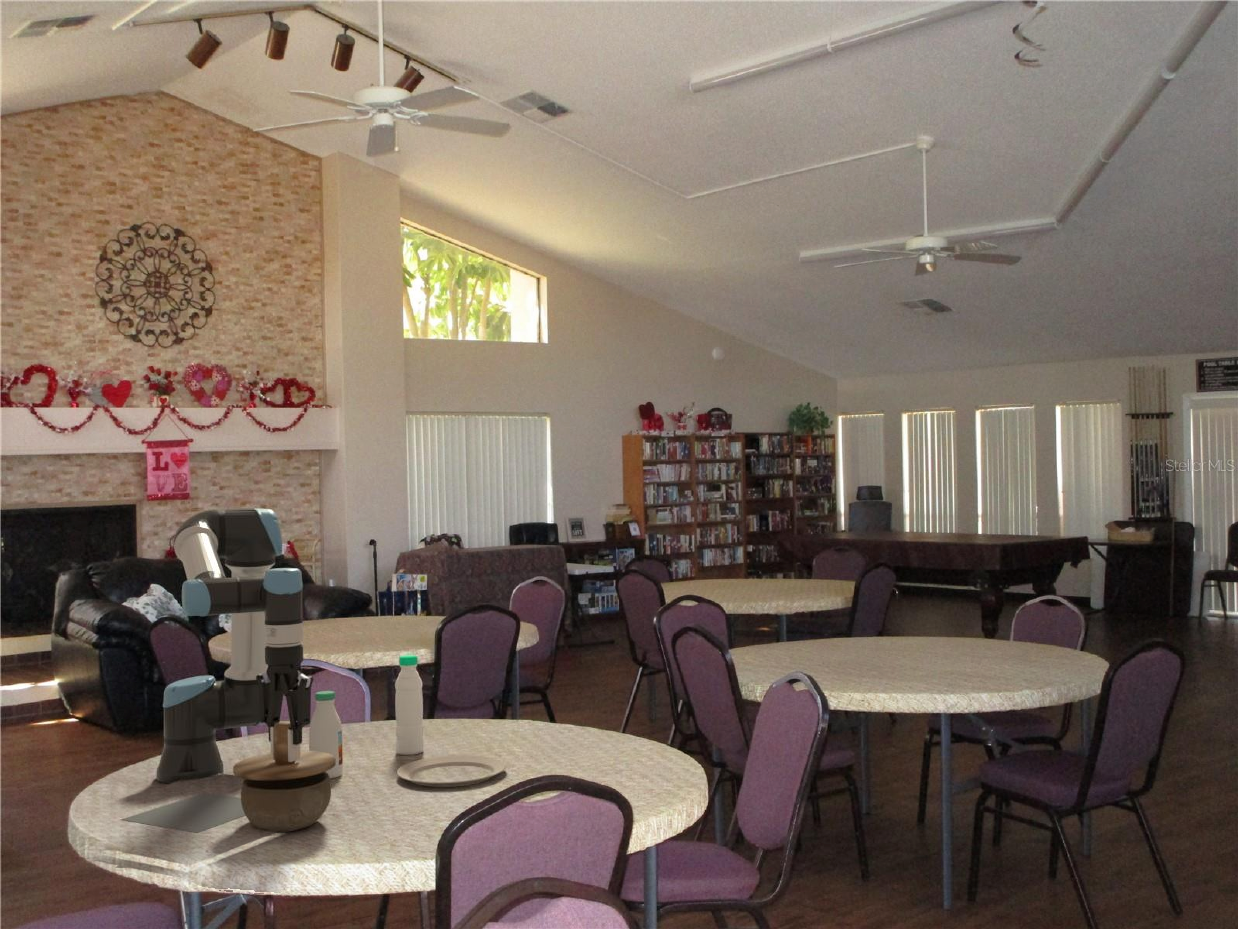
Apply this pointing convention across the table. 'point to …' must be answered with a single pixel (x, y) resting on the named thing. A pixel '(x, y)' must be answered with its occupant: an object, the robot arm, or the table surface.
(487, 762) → the plate
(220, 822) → the mat
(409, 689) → the white plastic bottle
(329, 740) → the milk bottle
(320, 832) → the table surface
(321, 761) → the lid
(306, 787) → the bowl
